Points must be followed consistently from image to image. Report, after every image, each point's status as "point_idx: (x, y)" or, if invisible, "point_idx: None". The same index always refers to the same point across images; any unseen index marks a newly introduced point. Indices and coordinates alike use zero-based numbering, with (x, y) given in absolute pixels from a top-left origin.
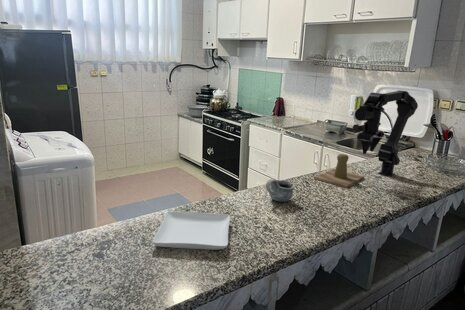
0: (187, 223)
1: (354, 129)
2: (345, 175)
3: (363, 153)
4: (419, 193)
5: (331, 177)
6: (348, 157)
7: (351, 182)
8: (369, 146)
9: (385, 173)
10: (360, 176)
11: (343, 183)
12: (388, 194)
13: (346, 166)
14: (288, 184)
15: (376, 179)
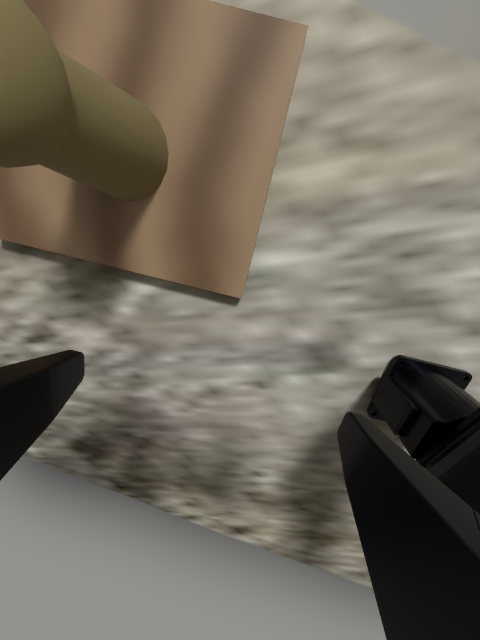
0: None
1: None
2: (101, 191)
3: (66, 356)
4: (186, 492)
5: None
6: (2, 157)
7: (63, 248)
8: None
9: (377, 396)
10: (222, 277)
11: (6, 208)
12: (85, 406)
13: (66, 174)
14: None
15: (272, 353)
